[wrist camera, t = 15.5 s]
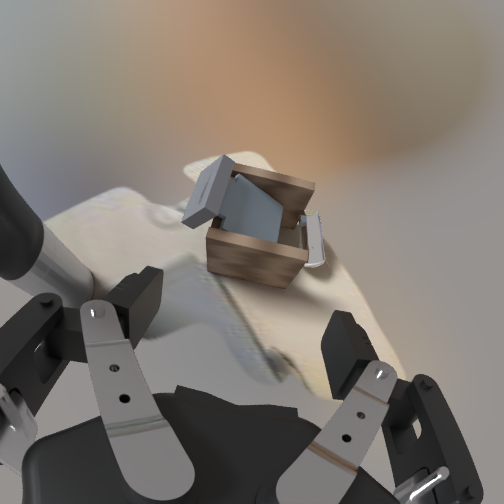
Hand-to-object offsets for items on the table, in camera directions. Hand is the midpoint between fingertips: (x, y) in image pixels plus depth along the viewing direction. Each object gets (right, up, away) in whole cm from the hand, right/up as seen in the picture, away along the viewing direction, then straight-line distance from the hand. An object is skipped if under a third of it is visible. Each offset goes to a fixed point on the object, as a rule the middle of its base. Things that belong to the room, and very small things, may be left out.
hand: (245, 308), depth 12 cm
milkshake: (+10, +9, +31) cm, 33 cm away
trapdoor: (-3, +8, +29) cm, 31 cm away
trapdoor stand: (+1, +4, +36) cm, 36 cm away
